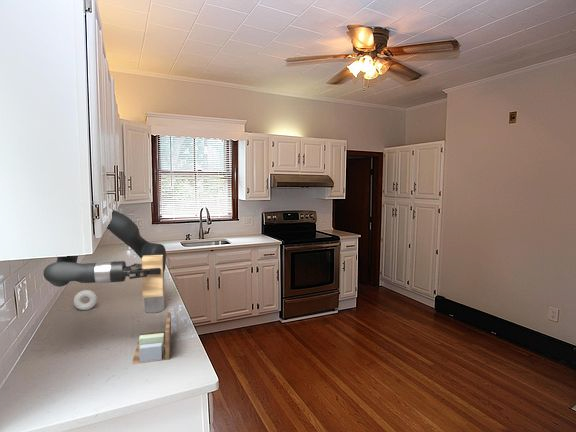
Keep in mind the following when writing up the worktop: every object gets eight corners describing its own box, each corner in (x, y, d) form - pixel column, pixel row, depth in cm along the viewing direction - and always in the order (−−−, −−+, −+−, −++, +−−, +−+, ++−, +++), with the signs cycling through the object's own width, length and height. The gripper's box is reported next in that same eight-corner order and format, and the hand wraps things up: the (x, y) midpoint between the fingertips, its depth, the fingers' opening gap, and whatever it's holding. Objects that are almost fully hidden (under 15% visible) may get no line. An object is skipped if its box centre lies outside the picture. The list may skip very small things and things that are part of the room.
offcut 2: (140, 358, 117) (140, 345, 116) (162, 356, 119) (161, 342, 119) (139, 362, 115) (139, 348, 114) (161, 359, 117) (161, 345, 116)
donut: (73, 312, 161) (72, 292, 160) (74, 310, 164) (73, 290, 163) (97, 309, 165) (96, 289, 164) (97, 307, 168) (97, 287, 167)
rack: (138, 342, 132) (138, 314, 131) (171, 338, 135) (170, 311, 134) (131, 367, 113) (130, 335, 112) (169, 362, 117) (168, 331, 116)
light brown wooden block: (143, 294, 128) (143, 255, 127) (163, 292, 130) (162, 254, 129) (142, 297, 124) (142, 257, 123) (162, 296, 126) (162, 257, 125)
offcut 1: (140, 354, 120) (140, 335, 120) (164, 351, 123) (163, 332, 122) (139, 358, 117) (138, 339, 117) (163, 355, 120) (163, 336, 119)
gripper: (106, 266, 115) (159, 264, 120) (114, 257, 129) (162, 255, 134) (106, 287, 116) (159, 284, 121) (114, 276, 129) (162, 274, 134)
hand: (160, 269), depth 127 cm, fingers closed on light brown wooden block, 4 cm apart
